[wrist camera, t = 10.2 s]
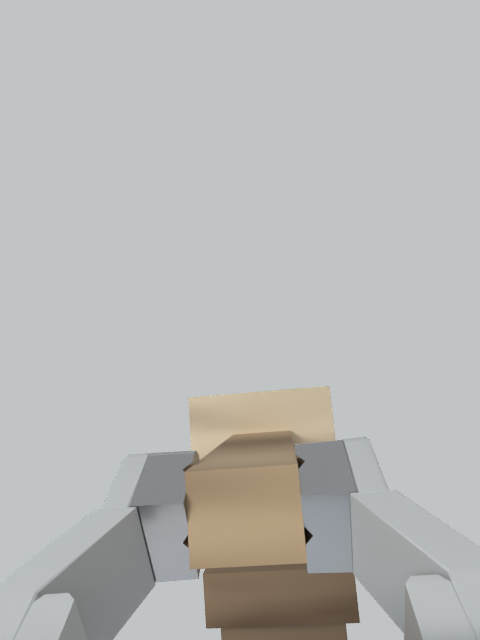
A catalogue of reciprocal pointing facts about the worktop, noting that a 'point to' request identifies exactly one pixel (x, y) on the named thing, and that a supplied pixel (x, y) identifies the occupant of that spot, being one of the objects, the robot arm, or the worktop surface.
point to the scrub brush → (251, 475)
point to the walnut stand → (279, 602)
